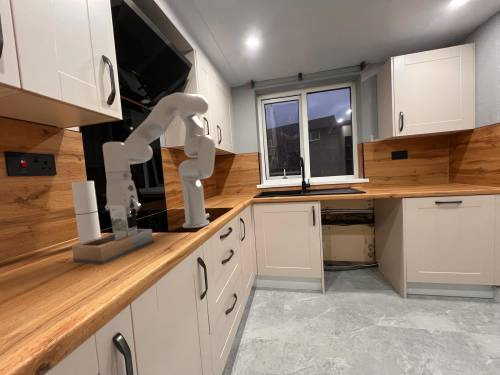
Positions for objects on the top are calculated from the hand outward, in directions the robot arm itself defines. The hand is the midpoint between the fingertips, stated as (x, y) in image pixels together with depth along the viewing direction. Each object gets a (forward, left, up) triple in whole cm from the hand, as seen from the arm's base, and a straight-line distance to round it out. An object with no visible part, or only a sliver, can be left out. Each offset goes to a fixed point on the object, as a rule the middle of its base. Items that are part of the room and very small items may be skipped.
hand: (125, 226), depth 80 cm
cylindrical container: (-2, -22, -8) cm, 23 cm away
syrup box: (0, 0, -6) cm, 6 cm away
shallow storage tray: (+4, 0, -7) cm, 8 cm away
